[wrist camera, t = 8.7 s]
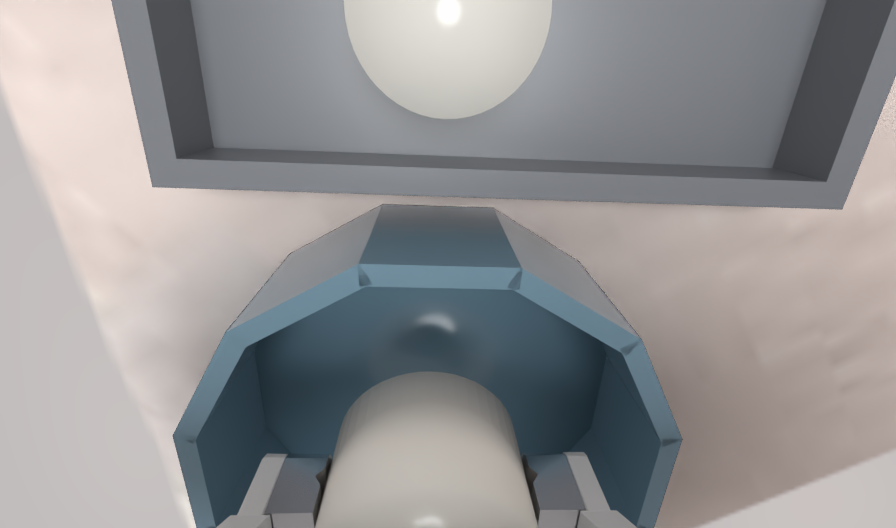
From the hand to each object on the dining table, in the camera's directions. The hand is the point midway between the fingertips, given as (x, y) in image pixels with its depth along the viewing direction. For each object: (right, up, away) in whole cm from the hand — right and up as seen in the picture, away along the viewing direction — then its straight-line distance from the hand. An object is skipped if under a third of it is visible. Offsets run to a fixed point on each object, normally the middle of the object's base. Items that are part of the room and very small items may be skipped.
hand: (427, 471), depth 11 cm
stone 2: (0, 0, +1) cm, 1 cm away
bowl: (0, 0, +8) cm, 8 cm away
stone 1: (0, +12, +2) cm, 12 cm away
